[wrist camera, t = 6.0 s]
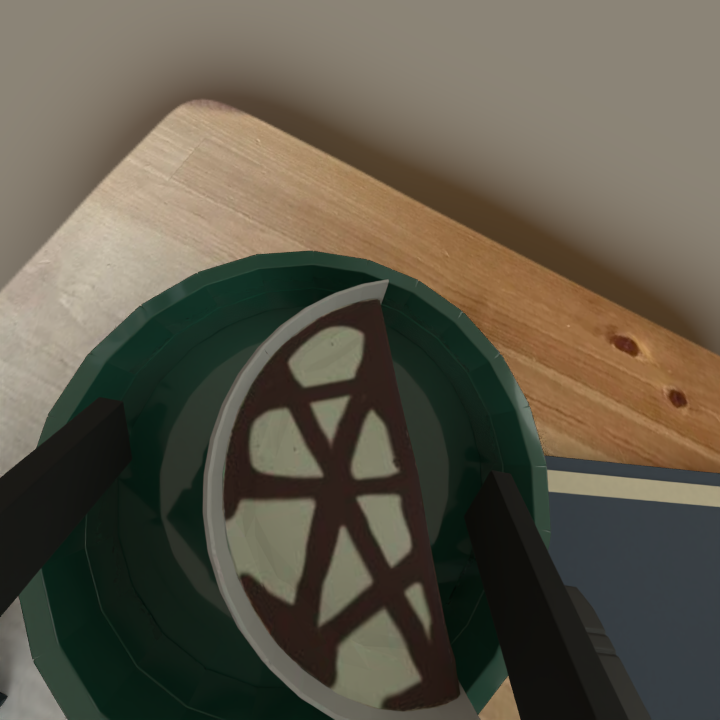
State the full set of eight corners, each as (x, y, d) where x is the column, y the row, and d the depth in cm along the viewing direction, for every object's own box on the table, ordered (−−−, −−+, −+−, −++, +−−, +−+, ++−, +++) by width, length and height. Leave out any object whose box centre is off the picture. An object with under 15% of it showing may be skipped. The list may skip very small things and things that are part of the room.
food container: (243, 367, 19) (170, 281, 9) (350, 353, 20) (385, 263, 10) (266, 615, 16) (194, 874, 6) (390, 583, 17) (491, 760, 7)
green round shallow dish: (488, 321, 22) (537, 286, 17) (494, 707, 16) (569, 813, 12) (163, 274, 20) (116, 218, 15) (40, 700, 14) (-100, 829, 9)
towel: (738, 475, 21) (747, 476, 21) (830, 909, 16) (845, 922, 16) (524, 453, 20) (529, 453, 19) (545, 926, 14) (552, 941, 14)
